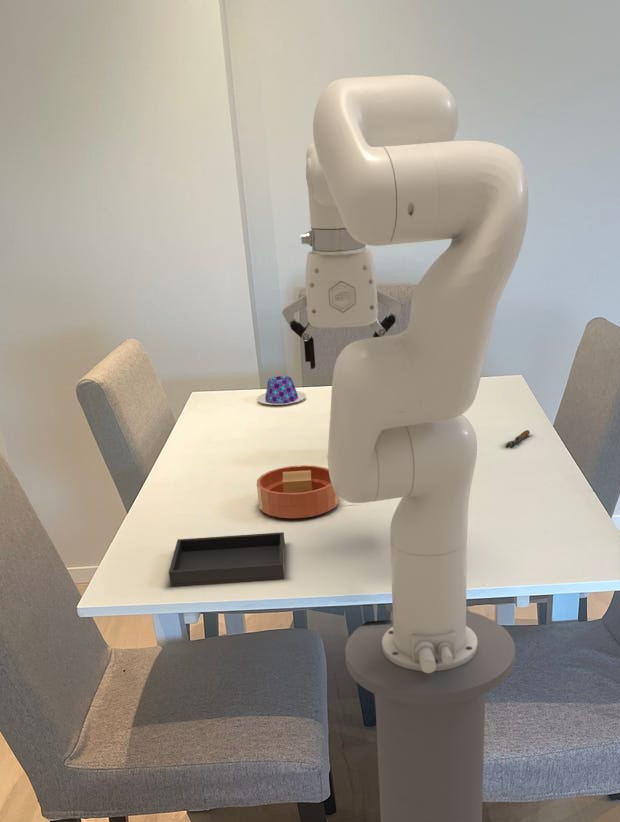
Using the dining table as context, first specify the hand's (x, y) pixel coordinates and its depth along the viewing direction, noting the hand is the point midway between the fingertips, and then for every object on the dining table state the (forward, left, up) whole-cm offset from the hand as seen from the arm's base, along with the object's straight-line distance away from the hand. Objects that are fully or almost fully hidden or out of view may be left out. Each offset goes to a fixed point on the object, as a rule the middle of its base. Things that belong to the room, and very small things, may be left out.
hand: (345, 364), depth 138 cm
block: (+16, +9, -28) cm, 33 cm away
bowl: (+16, +9, -28) cm, 34 cm away
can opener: (+43, -36, -28) cm, 63 cm away
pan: (-7, +20, -28) cm, 35 cm away
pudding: (+85, +13, -28) cm, 91 cm away
